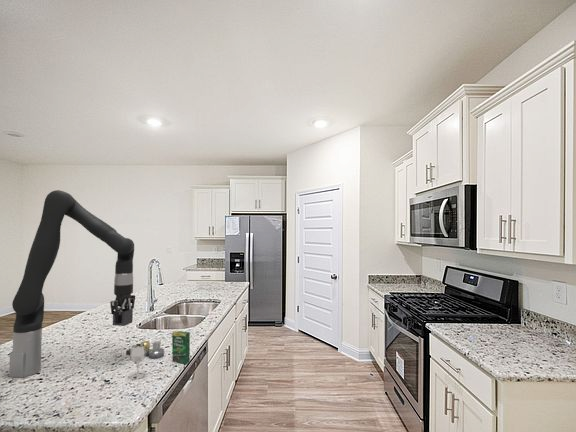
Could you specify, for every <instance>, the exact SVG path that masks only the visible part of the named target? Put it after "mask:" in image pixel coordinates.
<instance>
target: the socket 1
mask: <svg viewBox="0 0 576 432" xmlns="http://www.w3.org/2000/svg"><path fill="white" fill-rule="evenodd" d="M133 310H134V308H133V309H123V310H122V312H121V323H120V324H116V323H115V315H113V314H112V326H118V327H119V326H120V327H125V326H128V325H130V324H133V315H134V314H133V313H134V311H133ZM114 312H115V310H114ZM118 312H119V310H118Z"/></svg>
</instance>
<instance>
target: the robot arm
mask: <svg viewBox="0 0 576 432" xmlns="http://www.w3.org/2000/svg"><path fill="white" fill-rule="evenodd" d="M43 202H44V203H43V208H42V214H41V218H40V221H39V225H38V227H37V230H36V233H35V235H34V239H33V241H32V243H31V244H32V245H31V247H30V250H29V253H28V257H27V260H26V264H25V269H24V272H23V277H22V280H21V282H20V285H19V287H18V289H17V291H16V294H15V295H14V297H13V300H12V303H11V306H12V310H13V311H14V312H15V320H14V323H13V327H12V328H13V330H12V351H10V352H9V369H8V370H9V371H8V376H9V378H10V377H11V378H20V379H21V378H26V377H29V376H33V375H34V374H38V373H39V372H40V371H41V369H42V364H41V363H42V345H43V344H42V343H43V342H42V341H43V340H42V337H43V322H44V315H45V313H44V312H45V296H44V294H43V290H44V285H45V282H46V279H47V277H48V275H49V274H50V272H51V270H52V268H53V265H54V264H55V261H56V259H57V256H58V252H59V249H60V246H61V229H62V228H61V227H62V224H63V221H64V217H65V216H66V217H68V218H71V219H72V220H74V221H75V222H77V223H79V225H81V226H82V227H83V228H85V230H87V232H89V233H90V234H91V235H93V236H95V238H97V239H98V240H100V241H102V242H104V243H105V244H106V245H107V246H108V247H110V248H111V249H112V250H113V251H114V252H115V253H117V255H116V256H117V257H116V262H115V265H114V266H115V271H114V281H113V282H114V283H113V285H114V286H113V288H114V289H113V294H114V295H115V300H110V303H109V304H110V312H111V315H112V316H113V315H115V323H116V324H120V323H121V312H122V310H123V309H133V310H134V308H135V302H136V301H135V300H136V295H135V294H134V295H133V292H134V273H133V272H134V271H133V270H134V255H135V243H134V241H133V240H132V239H131V238H130V237H129V238H127V237H124V236H123V235H121V233H119V232H118V231H117V230H116V228H114V227H112V226H111V225H109V224H108V223H107V222H106V221H103V220H102V219H100V218H99V217H97V216H96V215H94V214H93V213H91V212H90V211H88V210H87V209H86V208H85V207H84V206H82V205H81V203H79V202H78V201H77V200H76V199H75V198H74V197H73V196H72V194H70V193H68V192H66V191H64V190H60V189H59V190H57V189H55V190H53V191H51V192H49V193H48V194H46V197H45V199H44V201H43ZM118 310H119V312H118ZM114 311H115V312H114Z"/></svg>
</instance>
